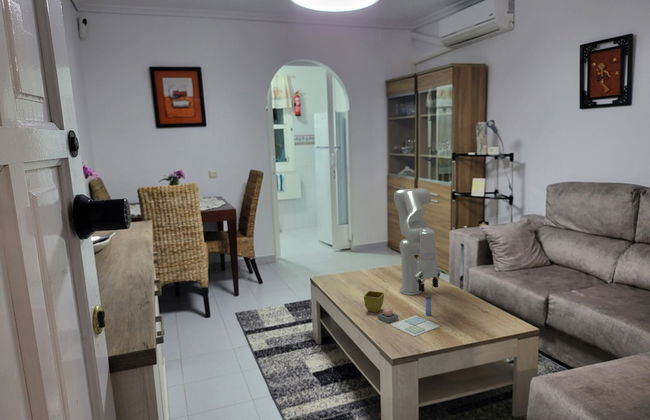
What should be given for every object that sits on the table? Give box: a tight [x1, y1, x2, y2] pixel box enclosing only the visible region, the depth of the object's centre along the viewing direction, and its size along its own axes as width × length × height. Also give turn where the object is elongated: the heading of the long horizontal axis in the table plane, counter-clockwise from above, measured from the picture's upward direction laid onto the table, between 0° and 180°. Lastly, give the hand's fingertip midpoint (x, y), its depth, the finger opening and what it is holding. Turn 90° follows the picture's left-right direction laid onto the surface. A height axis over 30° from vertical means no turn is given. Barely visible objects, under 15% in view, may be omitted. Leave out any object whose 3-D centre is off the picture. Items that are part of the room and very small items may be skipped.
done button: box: [383, 307, 394, 317], centre depth 218 cm, size 4×4×3 cm
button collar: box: [377, 312, 399, 324], centre depth 218 cm, size 7×7×2 cm
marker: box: [424, 294, 432, 317], centre depth 221 cm, size 3×3×10 cm
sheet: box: [389, 315, 441, 338], centre depth 209 cm, size 17×16×1 cm
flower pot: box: [363, 290, 385, 313], centre depth 230 cm, size 9×9×9 cm
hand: (428, 289), depth 219 cm, fingers open, 9 cm apart
